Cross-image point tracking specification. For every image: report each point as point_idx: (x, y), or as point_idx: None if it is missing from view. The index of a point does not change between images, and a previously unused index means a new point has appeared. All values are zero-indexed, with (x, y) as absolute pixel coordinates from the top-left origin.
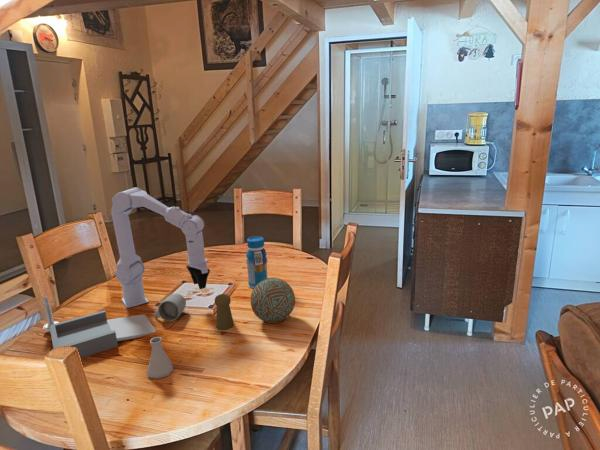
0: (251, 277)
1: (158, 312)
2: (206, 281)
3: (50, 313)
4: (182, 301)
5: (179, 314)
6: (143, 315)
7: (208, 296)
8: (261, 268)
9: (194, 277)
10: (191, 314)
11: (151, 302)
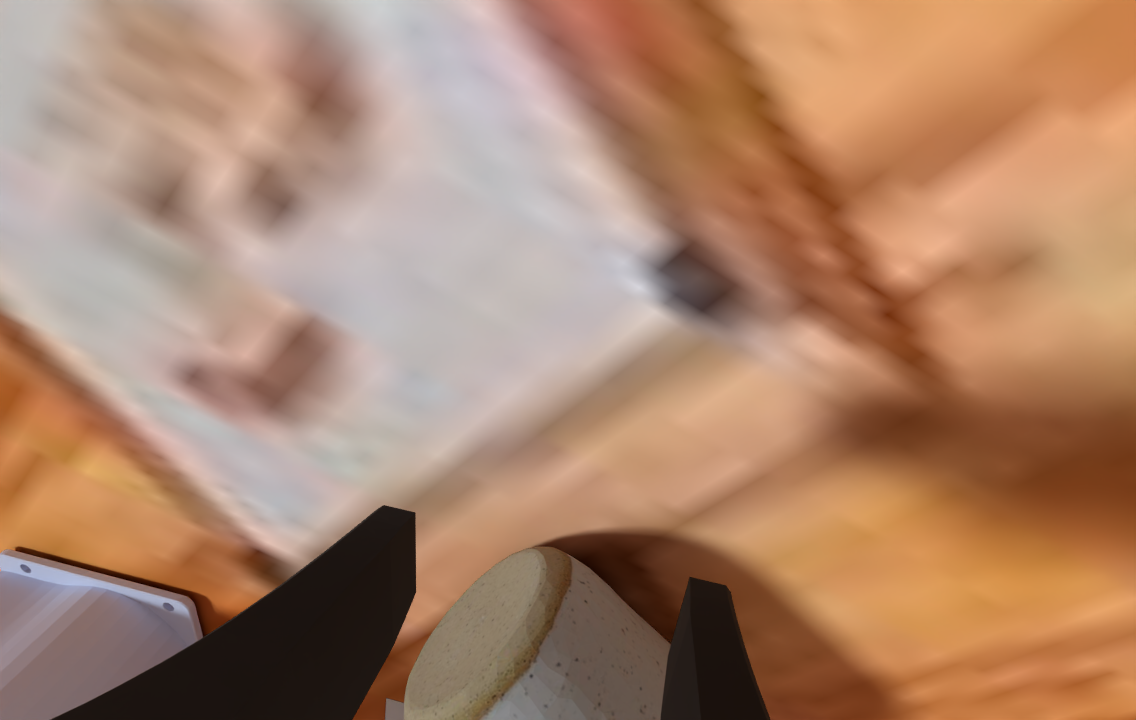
0: None
1: None
2: (765, 712)
3: None
4: (614, 703)
5: None
6: (403, 712)
7: (387, 137)
8: None
9: (339, 708)
10: (690, 524)
11: (201, 580)
